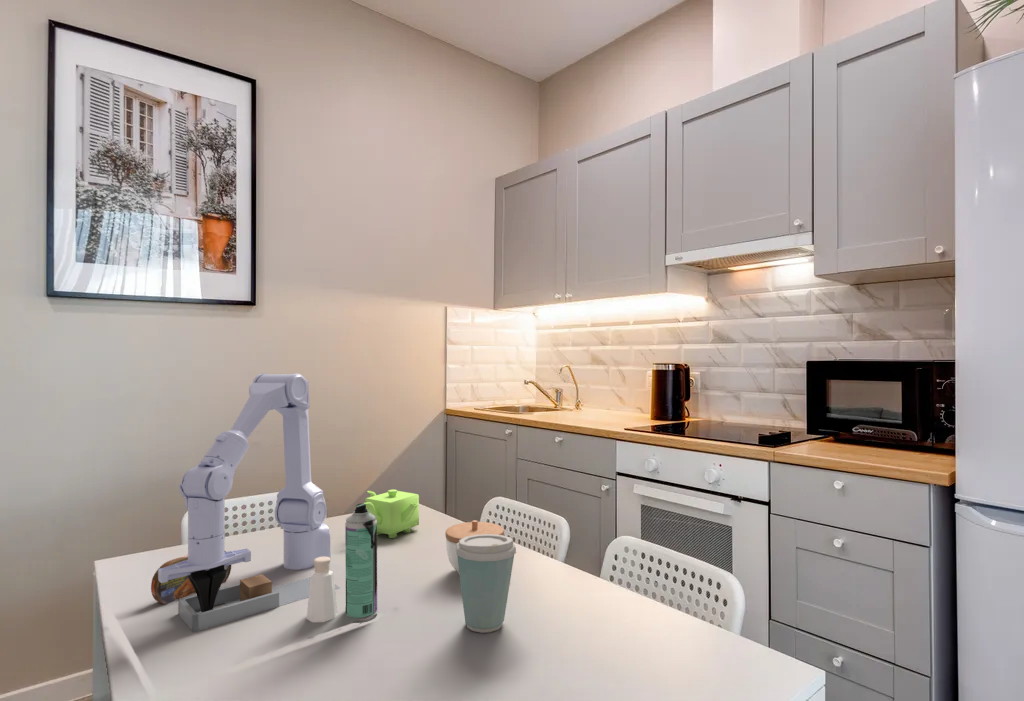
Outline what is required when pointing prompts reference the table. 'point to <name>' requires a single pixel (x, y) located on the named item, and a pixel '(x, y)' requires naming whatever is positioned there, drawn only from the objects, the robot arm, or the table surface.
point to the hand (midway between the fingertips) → (206, 611)
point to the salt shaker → (322, 592)
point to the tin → (175, 584)
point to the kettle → (394, 511)
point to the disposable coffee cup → (485, 579)
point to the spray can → (361, 564)
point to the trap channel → (240, 604)
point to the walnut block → (254, 587)
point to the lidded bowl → (466, 530)
